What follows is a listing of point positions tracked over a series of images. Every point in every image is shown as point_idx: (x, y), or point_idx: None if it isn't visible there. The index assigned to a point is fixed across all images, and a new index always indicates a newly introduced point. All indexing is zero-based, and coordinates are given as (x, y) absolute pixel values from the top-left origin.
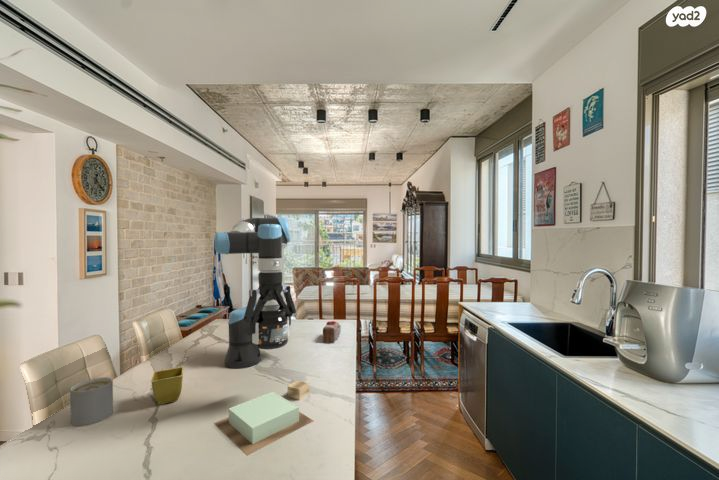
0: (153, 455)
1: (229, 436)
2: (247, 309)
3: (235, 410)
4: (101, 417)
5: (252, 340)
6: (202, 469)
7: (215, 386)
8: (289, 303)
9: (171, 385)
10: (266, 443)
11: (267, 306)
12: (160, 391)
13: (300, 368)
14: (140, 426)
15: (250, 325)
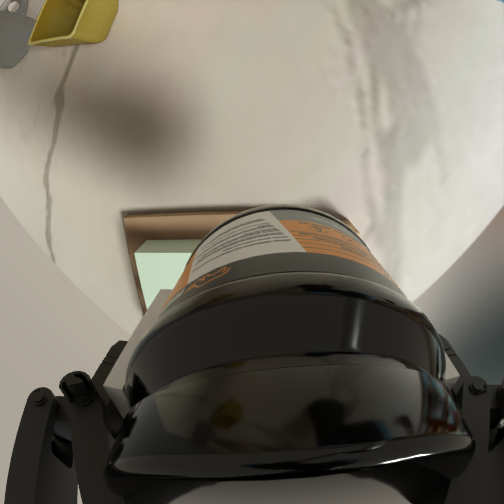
0: (53, 224)
1: (138, 284)
2: (25, 478)
3: (144, 272)
4: (16, 61)
5: (155, 299)
6: (103, 305)
7: (202, 6)
8: (488, 486)
9: (67, 42)
10: None
11: (392, 469)
12: (57, 45)
13: (445, 92)
14: (43, 115)
15: (96, 387)
